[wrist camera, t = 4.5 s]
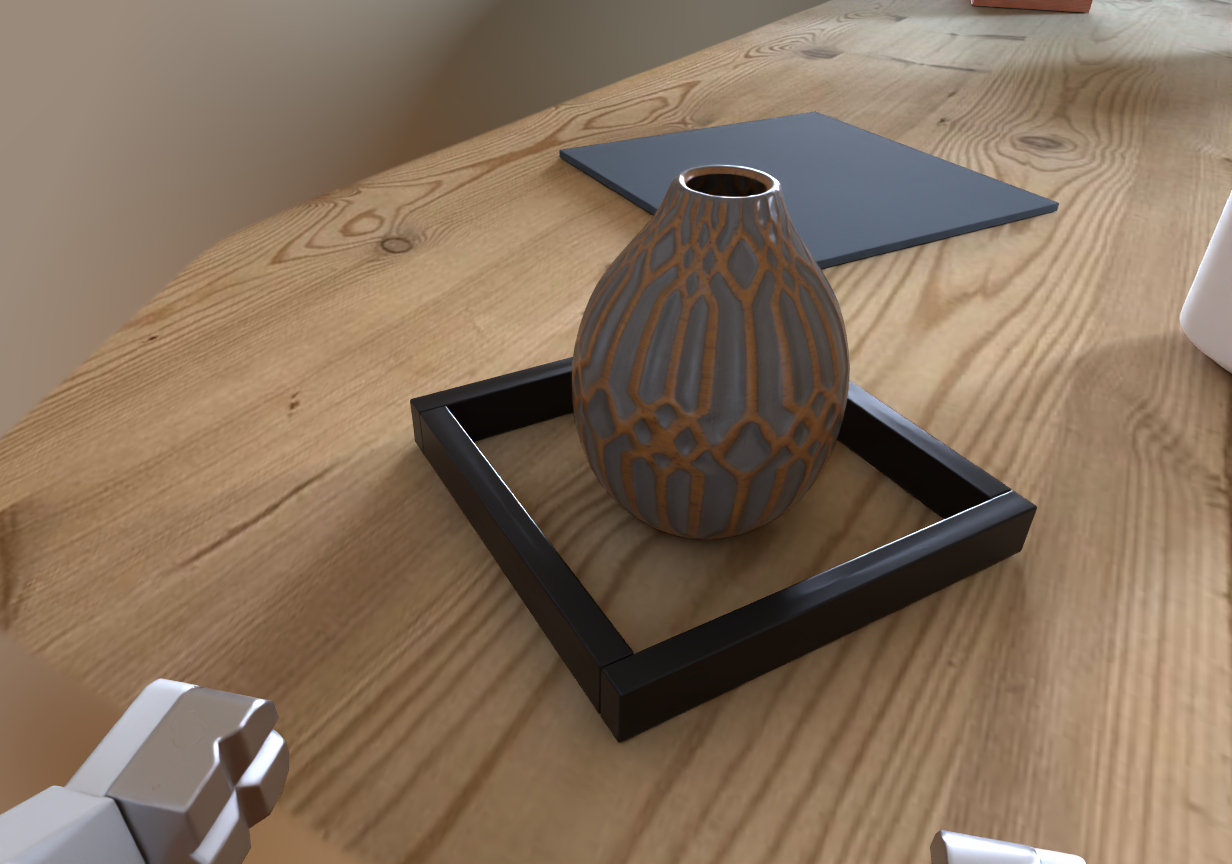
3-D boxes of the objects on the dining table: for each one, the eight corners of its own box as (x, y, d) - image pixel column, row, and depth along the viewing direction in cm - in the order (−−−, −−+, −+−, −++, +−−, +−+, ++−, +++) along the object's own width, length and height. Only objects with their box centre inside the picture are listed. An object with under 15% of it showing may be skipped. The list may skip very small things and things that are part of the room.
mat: (762, 283, 36) (764, 274, 36) (559, 157, 49) (559, 149, 49) (1057, 210, 44) (1059, 203, 44) (814, 117, 56) (815, 111, 56)
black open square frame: (618, 744, 18) (620, 695, 17) (414, 441, 27) (409, 398, 26) (1021, 551, 23) (1038, 506, 22) (742, 349, 32) (746, 311, 31)
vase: (522, 478, 25) (508, 168, 20) (701, 399, 29) (726, 120, 24) (692, 622, 21) (726, 272, 16) (877, 507, 24) (952, 192, 19)
